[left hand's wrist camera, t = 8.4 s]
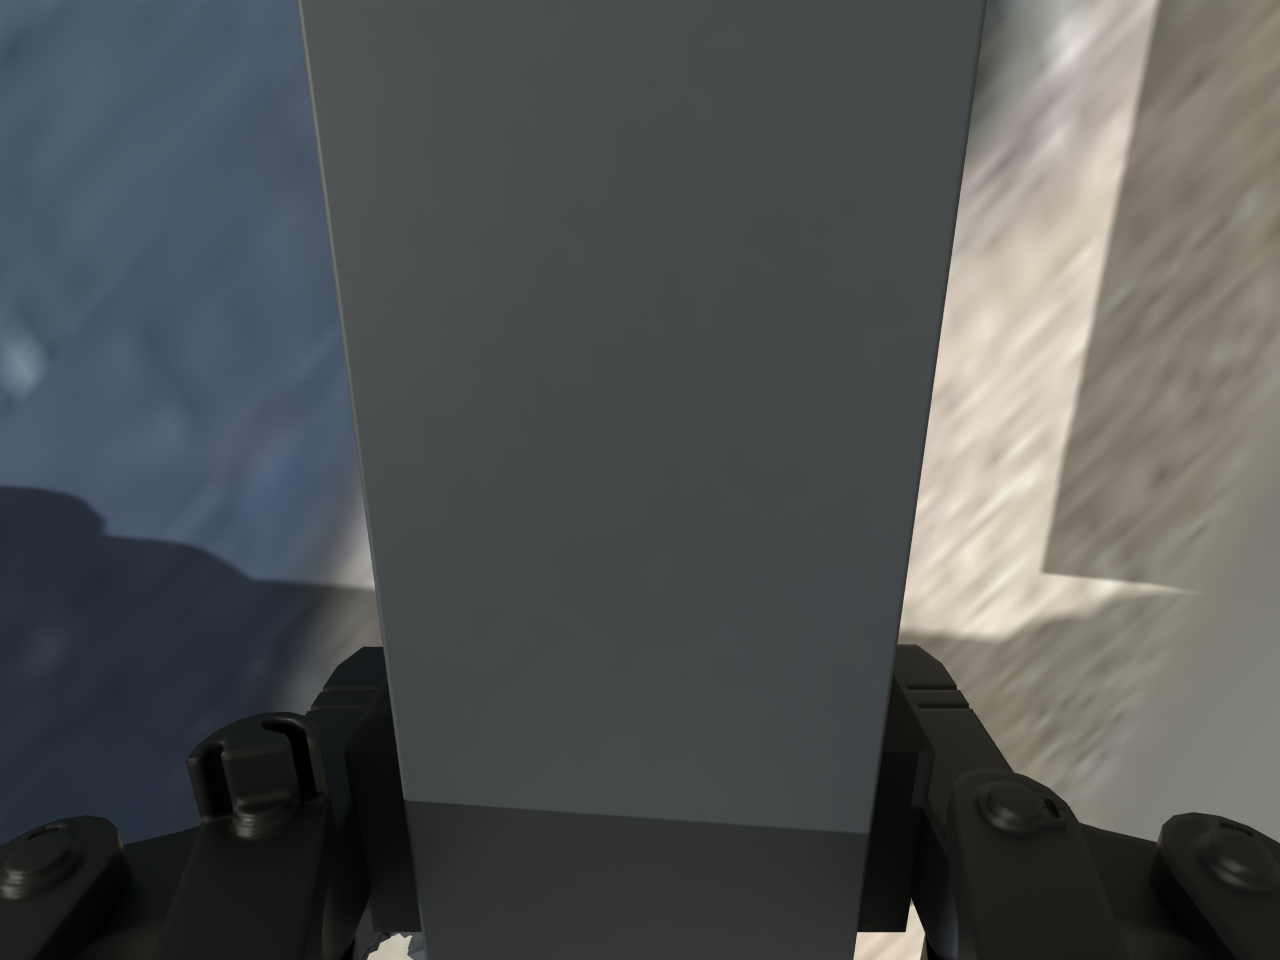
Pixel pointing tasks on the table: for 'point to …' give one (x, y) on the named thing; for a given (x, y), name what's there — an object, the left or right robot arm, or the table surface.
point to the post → (640, 442)
